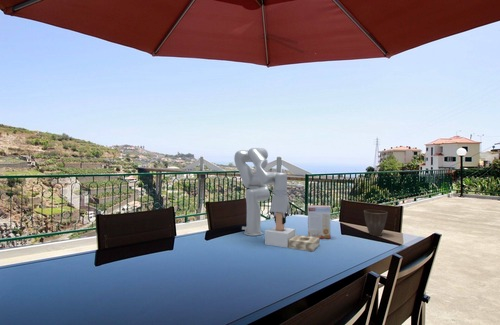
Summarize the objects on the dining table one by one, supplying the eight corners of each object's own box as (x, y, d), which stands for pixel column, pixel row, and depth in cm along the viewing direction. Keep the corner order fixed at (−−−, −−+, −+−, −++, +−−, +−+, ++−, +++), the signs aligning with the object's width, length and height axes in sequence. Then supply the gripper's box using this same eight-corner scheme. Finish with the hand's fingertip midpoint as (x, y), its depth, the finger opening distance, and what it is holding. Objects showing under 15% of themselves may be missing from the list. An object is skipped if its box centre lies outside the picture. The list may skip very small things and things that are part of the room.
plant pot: (388, 234, 201) (388, 210, 201) (385, 238, 189) (385, 213, 189) (366, 231, 209) (366, 209, 209) (361, 235, 197) (361, 211, 197)
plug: (275, 232, 175) (275, 213, 175) (278, 231, 179) (278, 212, 179) (281, 233, 174) (282, 213, 173) (284, 232, 177) (284, 212, 177)
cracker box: (329, 236, 192) (329, 205, 192) (330, 239, 186) (330, 206, 186) (307, 236, 194) (307, 204, 194) (308, 238, 188) (308, 206, 188)
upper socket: (265, 244, 173) (265, 230, 173) (274, 239, 185) (274, 226, 185) (287, 247, 166) (287, 233, 166) (295, 242, 179) (295, 229, 179)
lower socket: (288, 247, 166) (288, 240, 166) (296, 242, 178) (296, 234, 178) (312, 251, 159) (313, 243, 159) (319, 245, 172) (319, 237, 172)
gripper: (265, 192, 177) (265, 222, 177) (291, 194, 169) (291, 226, 169) (270, 191, 183) (270, 220, 183) (295, 193, 176) (295, 223, 176)
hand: (280, 223), depth 176 cm, fingers closed on plug, 4 cm apart
